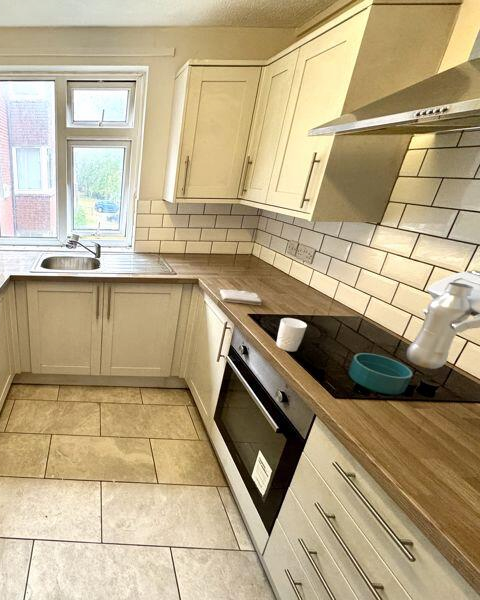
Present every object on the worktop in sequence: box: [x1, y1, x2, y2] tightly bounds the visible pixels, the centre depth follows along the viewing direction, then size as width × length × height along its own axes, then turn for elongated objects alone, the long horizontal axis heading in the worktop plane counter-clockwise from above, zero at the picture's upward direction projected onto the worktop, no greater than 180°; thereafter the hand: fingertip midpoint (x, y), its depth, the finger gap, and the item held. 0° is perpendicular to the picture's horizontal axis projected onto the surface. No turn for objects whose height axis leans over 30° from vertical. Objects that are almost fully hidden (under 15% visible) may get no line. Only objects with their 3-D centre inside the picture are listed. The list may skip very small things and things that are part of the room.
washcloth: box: [219, 289, 263, 306], centre depth 158 cm, size 12×18×3 cm, turn 75°
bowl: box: [347, 352, 414, 395], centre depth 96 cm, size 13×13×6 cm
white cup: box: [275, 317, 308, 352], centre depth 114 cm, size 8×8×10 cm
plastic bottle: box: [405, 282, 473, 370], centre depth 71 cm, size 6×7×20 cm
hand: (439, 321), depth 70 cm, fingers closed on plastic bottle, 6 cm apart
